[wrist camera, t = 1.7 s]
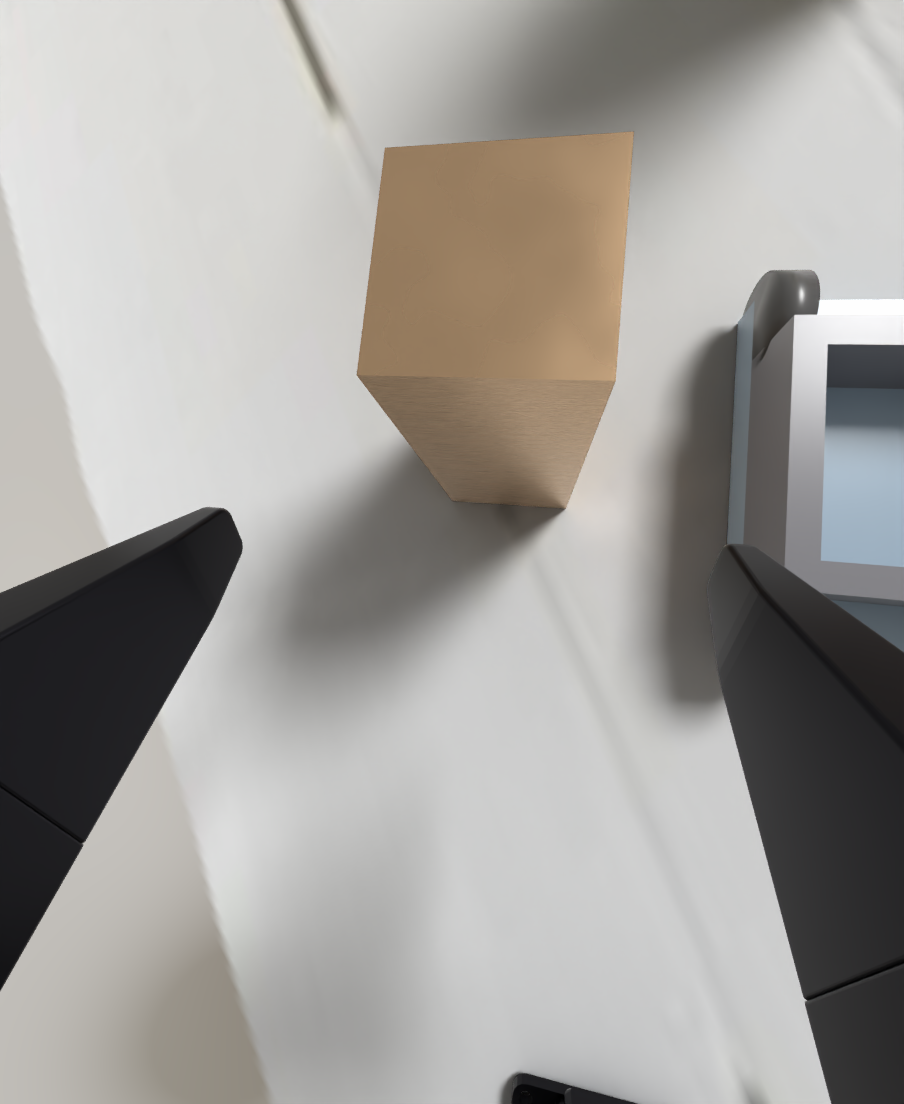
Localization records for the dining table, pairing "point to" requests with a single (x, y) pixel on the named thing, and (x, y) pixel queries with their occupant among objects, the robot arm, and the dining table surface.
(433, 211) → the tall tan wooden block
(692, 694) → the dining table surface
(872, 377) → the chassis
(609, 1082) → the dining table surface
